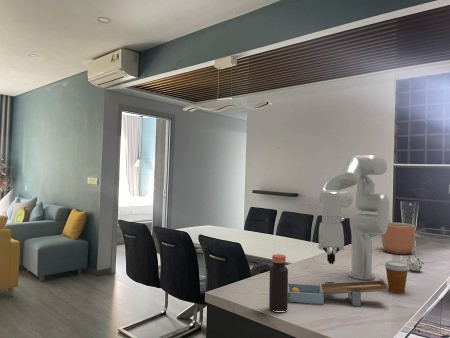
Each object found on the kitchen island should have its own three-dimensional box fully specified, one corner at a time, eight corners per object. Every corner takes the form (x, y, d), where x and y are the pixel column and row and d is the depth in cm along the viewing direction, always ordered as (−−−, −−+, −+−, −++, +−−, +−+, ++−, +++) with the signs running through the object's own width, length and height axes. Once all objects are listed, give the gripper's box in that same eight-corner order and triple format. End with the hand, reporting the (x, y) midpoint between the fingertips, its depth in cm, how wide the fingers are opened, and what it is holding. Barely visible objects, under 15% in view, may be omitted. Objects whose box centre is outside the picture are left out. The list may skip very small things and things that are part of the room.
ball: (289, 292, 142) (293, 284, 142) (296, 296, 141) (300, 289, 141) (289, 295, 138) (293, 287, 138) (297, 299, 138) (301, 291, 138)
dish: (287, 292, 146) (287, 283, 146) (319, 294, 144) (319, 285, 144) (288, 302, 134) (288, 292, 134) (323, 304, 132) (323, 294, 132)
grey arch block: (347, 297, 141) (347, 283, 141) (355, 298, 141) (355, 284, 141) (352, 305, 132) (352, 291, 132) (360, 306, 131) (360, 291, 132)
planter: (421, 256, 220) (421, 226, 221) (389, 255, 221) (389, 226, 221) (405, 249, 241) (405, 222, 241) (375, 249, 241) (376, 222, 242)
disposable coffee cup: (387, 285, 158) (387, 259, 158) (410, 290, 152) (410, 263, 152) (382, 291, 150) (382, 263, 151) (406, 296, 144) (406, 267, 144)
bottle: (285, 306, 130) (286, 253, 131) (289, 313, 124) (290, 257, 124) (267, 306, 130) (268, 253, 131) (270, 313, 123) (271, 257, 124)
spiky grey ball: (411, 278, 183) (398, 262, 184) (415, 270, 189) (403, 255, 190) (426, 273, 177) (413, 257, 178) (430, 265, 183) (417, 249, 184)
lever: (320, 286, 147) (319, 277, 148) (378, 283, 144) (377, 274, 144) (324, 297, 135) (323, 287, 135) (388, 294, 131) (387, 283, 131)
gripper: (347, 219, 148) (347, 261, 148) (312, 218, 151) (312, 260, 150) (351, 221, 141) (351, 266, 141) (314, 220, 143) (314, 264, 143)
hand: (331, 263), depth 145 cm, fingers closed
